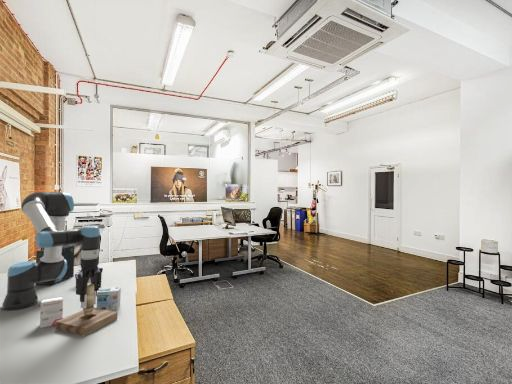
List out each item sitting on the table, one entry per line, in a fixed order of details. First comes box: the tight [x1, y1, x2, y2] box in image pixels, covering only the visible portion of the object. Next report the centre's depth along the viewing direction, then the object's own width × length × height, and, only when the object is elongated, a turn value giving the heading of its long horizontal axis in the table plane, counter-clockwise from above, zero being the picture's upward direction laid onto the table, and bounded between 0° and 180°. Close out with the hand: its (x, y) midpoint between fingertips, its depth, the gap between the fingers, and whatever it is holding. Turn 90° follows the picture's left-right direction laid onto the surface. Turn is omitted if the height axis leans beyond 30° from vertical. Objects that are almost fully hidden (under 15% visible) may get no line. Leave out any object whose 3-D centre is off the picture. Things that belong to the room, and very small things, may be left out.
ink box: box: [39, 296, 64, 329], centre depth 130 cm, size 9×5×12 cm, turn 125°
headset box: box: [34, 244, 75, 287], centre depth 195 cm, size 22×12×26 cm, turn 179°
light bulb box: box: [96, 286, 122, 312], centre depth 149 cm, size 11×7×11 cm, turn 105°
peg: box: [82, 283, 95, 315], centre depth 131 cm, size 4×4×14 cm
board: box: [55, 307, 118, 337], centre depth 131 cm, size 18×18×4 cm
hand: (88, 305), depth 131 cm, fingers closed on peg, 4 cm apart
